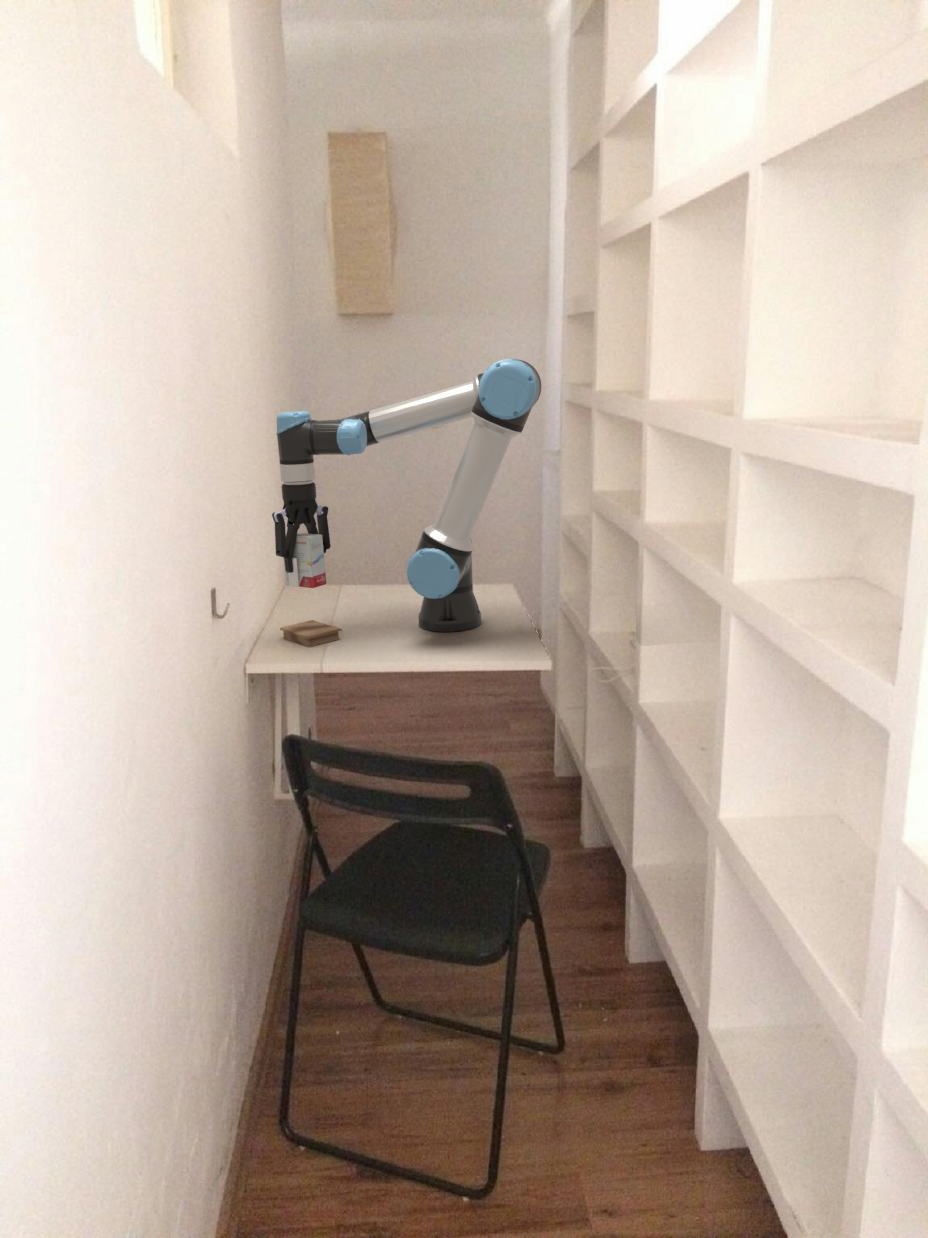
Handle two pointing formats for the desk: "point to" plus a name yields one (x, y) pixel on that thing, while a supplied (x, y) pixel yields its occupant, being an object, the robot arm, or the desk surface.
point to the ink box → (309, 560)
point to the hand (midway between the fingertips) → (306, 583)
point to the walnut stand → (311, 633)
